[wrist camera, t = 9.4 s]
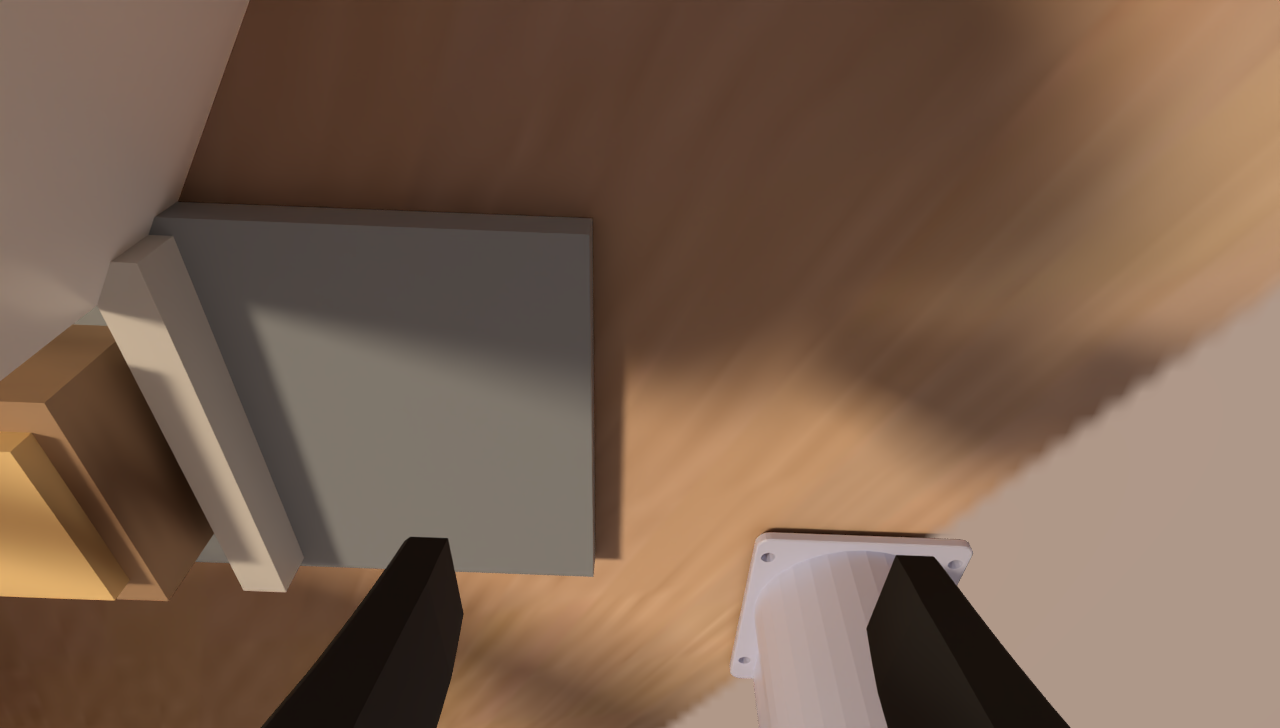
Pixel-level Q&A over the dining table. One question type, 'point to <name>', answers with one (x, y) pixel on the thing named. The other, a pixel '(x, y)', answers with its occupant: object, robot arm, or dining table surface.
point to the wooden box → (90, 480)
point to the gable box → (94, 143)
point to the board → (368, 382)
